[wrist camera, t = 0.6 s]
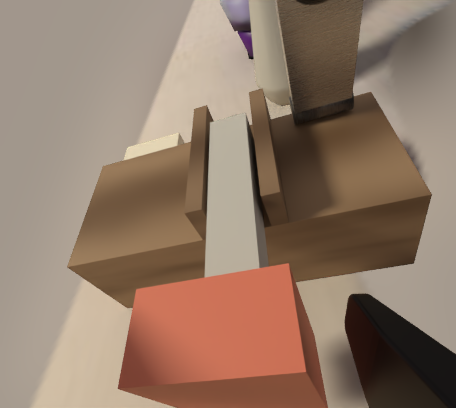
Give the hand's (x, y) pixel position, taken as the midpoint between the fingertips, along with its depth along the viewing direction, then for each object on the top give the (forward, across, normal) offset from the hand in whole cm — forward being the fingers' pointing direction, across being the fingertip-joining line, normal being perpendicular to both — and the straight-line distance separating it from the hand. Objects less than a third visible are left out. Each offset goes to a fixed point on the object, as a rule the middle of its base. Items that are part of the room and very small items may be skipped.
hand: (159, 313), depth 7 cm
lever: (+12, -7, -3) cm, 15 cm away
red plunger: (+7, -3, +3) cm, 8 cm away
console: (+13, -3, +6) cm, 15 cm away
